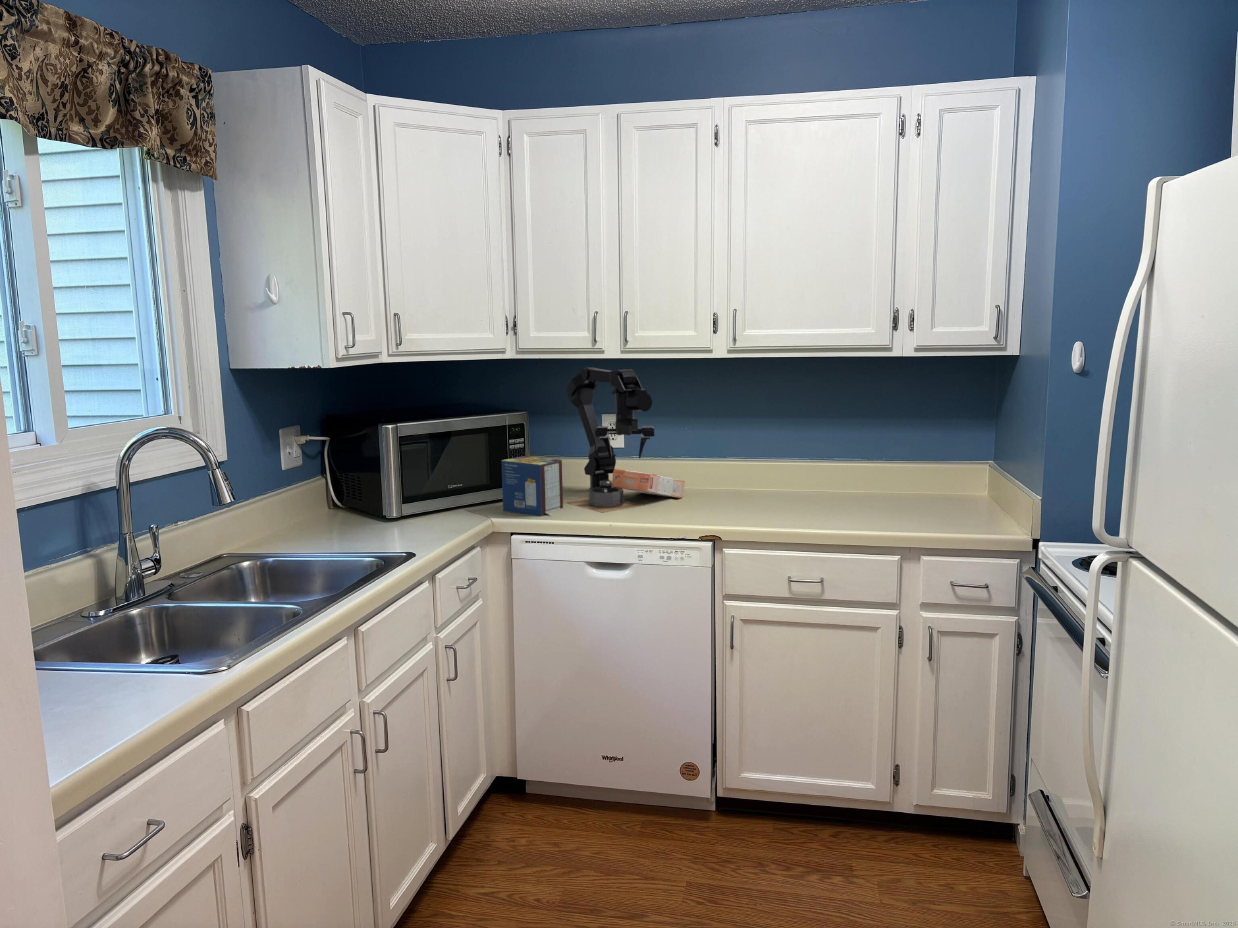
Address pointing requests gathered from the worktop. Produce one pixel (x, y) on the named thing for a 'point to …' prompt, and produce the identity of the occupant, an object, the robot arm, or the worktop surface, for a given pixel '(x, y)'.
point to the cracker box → (647, 483)
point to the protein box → (532, 485)
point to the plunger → (605, 484)
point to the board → (585, 504)
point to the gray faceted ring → (605, 497)
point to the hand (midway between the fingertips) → (625, 458)
